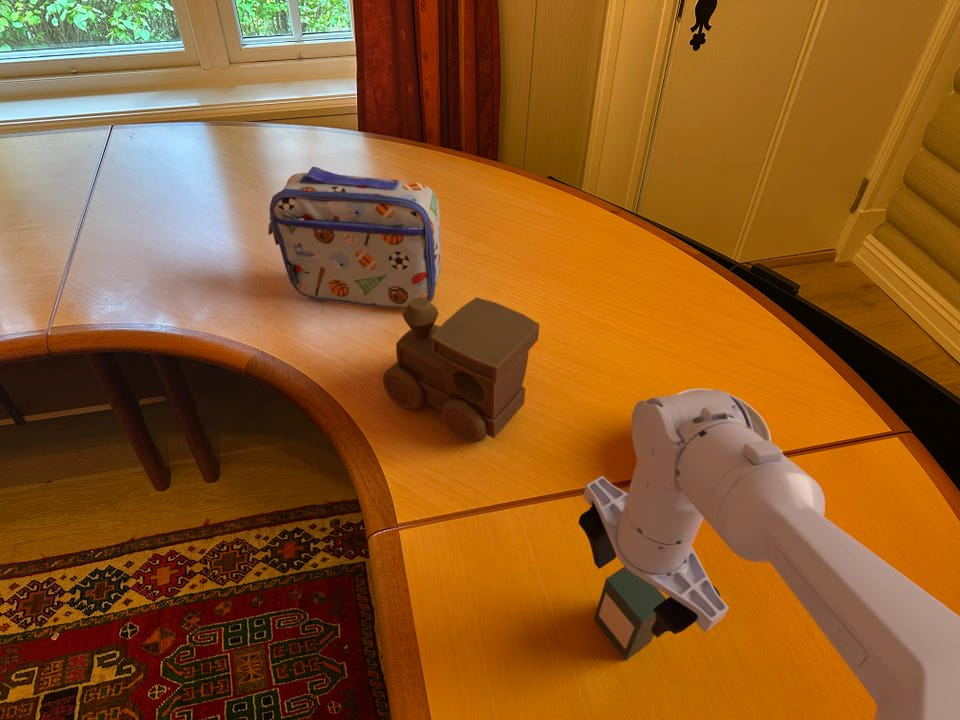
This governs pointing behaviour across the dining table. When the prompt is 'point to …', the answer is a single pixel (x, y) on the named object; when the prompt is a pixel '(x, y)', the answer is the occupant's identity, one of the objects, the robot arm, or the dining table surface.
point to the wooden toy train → (463, 365)
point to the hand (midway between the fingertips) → (632, 593)
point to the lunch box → (358, 238)
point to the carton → (628, 611)
